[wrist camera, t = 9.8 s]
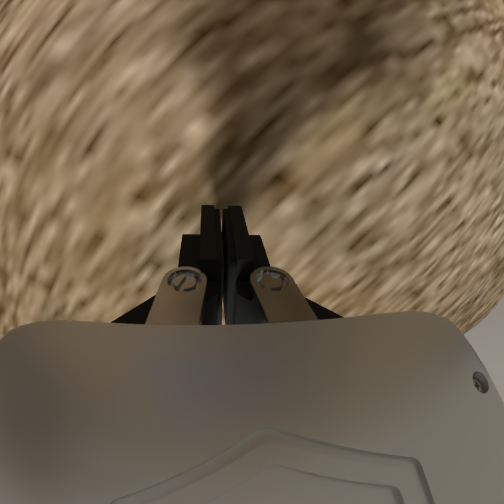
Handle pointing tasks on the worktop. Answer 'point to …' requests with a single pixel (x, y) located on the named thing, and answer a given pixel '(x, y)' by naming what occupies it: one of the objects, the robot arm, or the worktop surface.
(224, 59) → the worktop surface
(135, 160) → the worktop surface
